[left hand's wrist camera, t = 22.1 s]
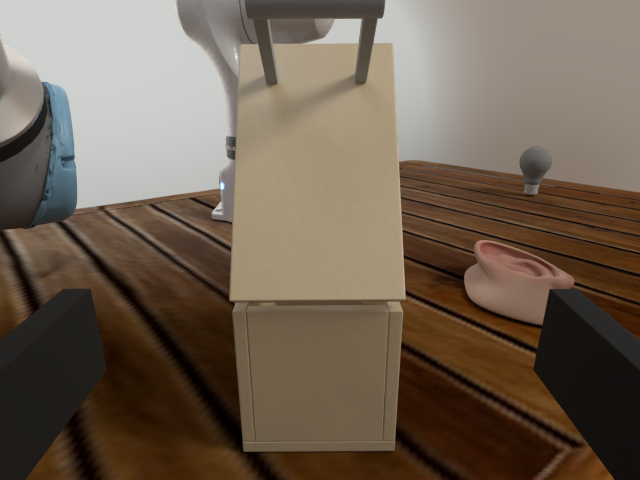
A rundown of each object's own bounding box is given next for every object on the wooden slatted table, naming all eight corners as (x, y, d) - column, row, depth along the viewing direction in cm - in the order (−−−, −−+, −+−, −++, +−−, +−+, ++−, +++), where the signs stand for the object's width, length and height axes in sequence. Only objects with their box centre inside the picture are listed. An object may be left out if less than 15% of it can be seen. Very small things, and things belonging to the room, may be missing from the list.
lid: (242, 55, 28) (211, -59, 20) (390, 54, 28) (417, -61, 20) (232, 303, 25) (190, 284, 17) (402, 302, 25) (441, 283, 17)
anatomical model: (593, 295, 39) (459, 275, 43) (584, 334, 40) (455, 311, 44) (574, 247, 50) (470, 235, 55) (568, 278, 52) (467, 264, 56)
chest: (269, 325, 42) (264, 227, 39) (368, 325, 42) (371, 226, 39) (243, 452, 28) (231, 311, 24) (394, 451, 28) (403, 310, 24)
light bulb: (520, 198, 89) (527, 148, 86) (511, 191, 95) (517, 144, 91) (550, 198, 88) (559, 148, 85) (540, 191, 94) (547, 144, 91)
